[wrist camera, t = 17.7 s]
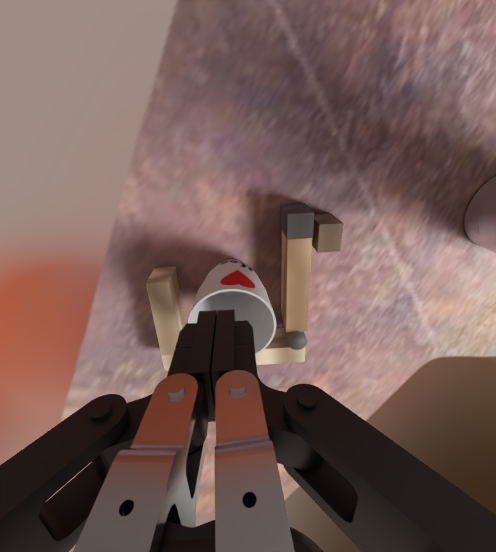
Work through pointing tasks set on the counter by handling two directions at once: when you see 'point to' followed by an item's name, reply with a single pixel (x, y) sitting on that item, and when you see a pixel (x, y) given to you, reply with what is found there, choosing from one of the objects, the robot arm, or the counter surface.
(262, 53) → the counter surface
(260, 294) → the cup
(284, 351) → the jointed wooden sticks
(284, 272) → the leg
